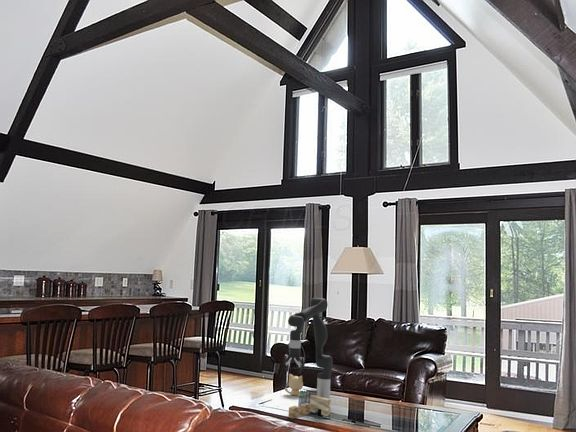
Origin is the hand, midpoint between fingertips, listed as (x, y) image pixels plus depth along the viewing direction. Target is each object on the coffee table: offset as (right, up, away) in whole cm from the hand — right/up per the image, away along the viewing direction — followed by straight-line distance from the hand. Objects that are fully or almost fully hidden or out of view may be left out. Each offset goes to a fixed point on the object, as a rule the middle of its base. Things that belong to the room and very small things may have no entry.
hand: (293, 372), depth 333 cm
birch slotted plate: (+17, -28, +4) cm, 33 cm away
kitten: (+2, -32, +48) cm, 58 cm away
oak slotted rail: (+4, -26, -4) cm, 27 cm away
